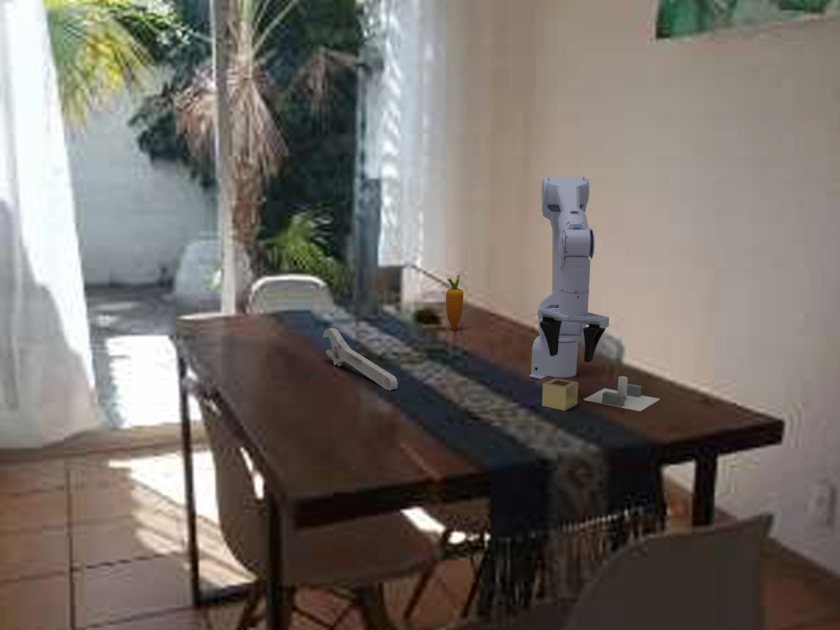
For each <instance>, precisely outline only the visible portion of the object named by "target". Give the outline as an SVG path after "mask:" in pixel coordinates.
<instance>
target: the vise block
mask: <svg viewBox="0 0 840 630" xmlns="http://www.w3.org/2000/svg"><path fill="white" fill-rule="evenodd" d="M617 377H618V379H617V390H615V389H610V388H605V387H604V388H602V389H601V390H598V391H597V392H595V393H593V394H591V395H589V396H587V397H585V398H583V401H588V402H591V403H597V404H601V405H607V406H612V407H617V408H621V409H622V408H623V409H626V410H631V411H636V412H642V411H643V410H645V409H646V408H648V407H650V406H651V405H653V404H655V403H657V402H658V401H659V400H660V399H661V398H657V397H653V396H646V395H642V385H638V384H633V383H628V377H627V376H623V375H621V376H617Z"/></svg>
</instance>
